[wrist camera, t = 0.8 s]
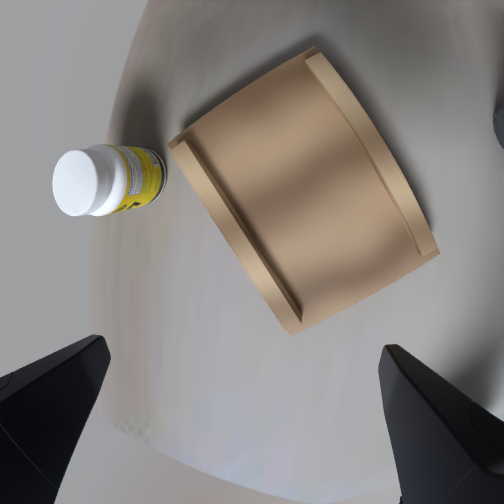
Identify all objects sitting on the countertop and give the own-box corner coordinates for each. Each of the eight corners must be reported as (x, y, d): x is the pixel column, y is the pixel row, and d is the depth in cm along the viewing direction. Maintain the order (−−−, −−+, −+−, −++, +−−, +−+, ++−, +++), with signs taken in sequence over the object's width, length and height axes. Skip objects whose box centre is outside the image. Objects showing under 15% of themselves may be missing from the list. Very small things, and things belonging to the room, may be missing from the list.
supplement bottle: (119, 204, 24) (48, 220, 16) (120, 149, 23) (48, 146, 15) (167, 206, 23) (102, 224, 15) (169, 146, 22) (102, 138, 14)
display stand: (427, 245, 20) (446, 258, 17) (293, 320, 24) (289, 344, 20) (315, 58, 18) (314, 38, 15) (181, 146, 22) (159, 142, 18)
